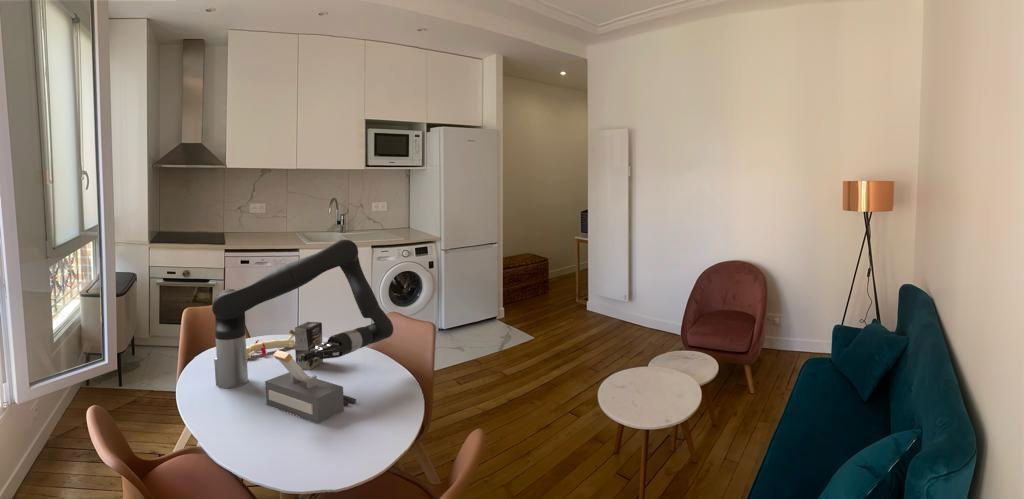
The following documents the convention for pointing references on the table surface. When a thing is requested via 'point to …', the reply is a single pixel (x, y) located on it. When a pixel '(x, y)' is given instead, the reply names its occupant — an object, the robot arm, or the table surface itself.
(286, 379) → the block
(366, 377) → the table surface
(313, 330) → the coffee box
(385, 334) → the robot arm
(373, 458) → the table surface
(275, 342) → the cat figure
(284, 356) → the breaker lever
